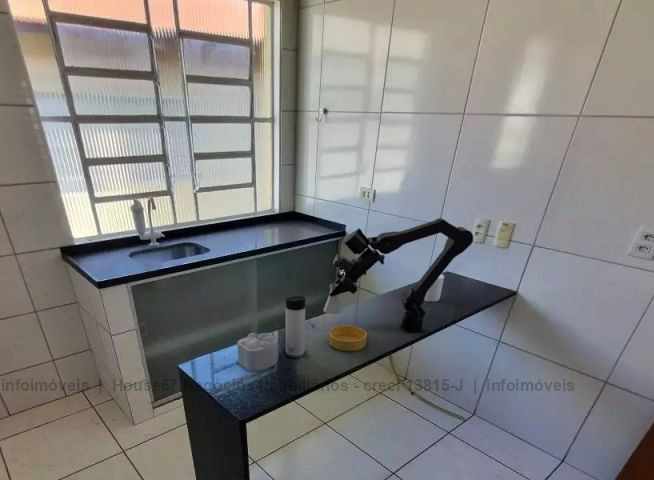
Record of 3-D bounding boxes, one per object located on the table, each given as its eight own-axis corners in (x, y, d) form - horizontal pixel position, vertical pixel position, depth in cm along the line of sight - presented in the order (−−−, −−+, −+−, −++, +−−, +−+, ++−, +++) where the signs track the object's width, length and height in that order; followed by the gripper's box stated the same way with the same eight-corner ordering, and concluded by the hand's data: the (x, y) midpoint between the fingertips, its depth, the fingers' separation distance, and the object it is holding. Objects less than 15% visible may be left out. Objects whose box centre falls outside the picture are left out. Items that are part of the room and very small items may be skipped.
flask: (342, 315, 148) (343, 288, 143) (322, 314, 149) (323, 287, 144) (343, 307, 154) (344, 282, 149) (324, 306, 155) (325, 281, 150)
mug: (447, 297, 182) (452, 273, 176) (432, 304, 175) (437, 279, 170) (430, 292, 188) (434, 269, 182) (415, 298, 181) (419, 275, 175)
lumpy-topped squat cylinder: (234, 360, 133) (232, 336, 128) (267, 349, 140) (266, 326, 135) (252, 373, 126) (250, 348, 121) (285, 361, 133) (285, 337, 128)
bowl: (360, 334, 150) (361, 324, 147) (369, 351, 139) (371, 340, 136) (325, 336, 149) (326, 326, 146) (332, 352, 138) (332, 342, 135)
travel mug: (291, 359, 133) (291, 302, 123) (282, 351, 138) (282, 295, 128) (308, 355, 136) (309, 298, 125) (298, 347, 141) (299, 292, 130)
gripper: (345, 240, 147) (314, 271, 153) (349, 254, 131) (314, 287, 137) (365, 262, 151) (334, 291, 157) (372, 278, 135) (337, 309, 141)
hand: (330, 294), depth 148 cm, fingers closed on flask, 3 cm apart
